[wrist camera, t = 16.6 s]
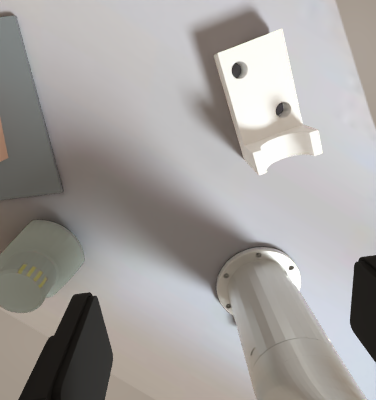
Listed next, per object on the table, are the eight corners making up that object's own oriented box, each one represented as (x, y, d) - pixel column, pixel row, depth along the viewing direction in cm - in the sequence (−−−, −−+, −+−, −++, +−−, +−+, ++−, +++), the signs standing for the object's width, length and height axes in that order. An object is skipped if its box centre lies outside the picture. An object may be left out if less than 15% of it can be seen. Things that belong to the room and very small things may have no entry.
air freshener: (49, 288, 46) (19, 341, 37) (0, 254, 44) (-46, 302, 34) (98, 241, 44) (78, 284, 34) (49, 202, 41) (13, 238, 32)
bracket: (296, 140, 40) (322, 153, 33) (243, 159, 41) (258, 175, 34) (271, 33, 36) (297, 21, 28) (213, 55, 36) (223, 49, 29)
